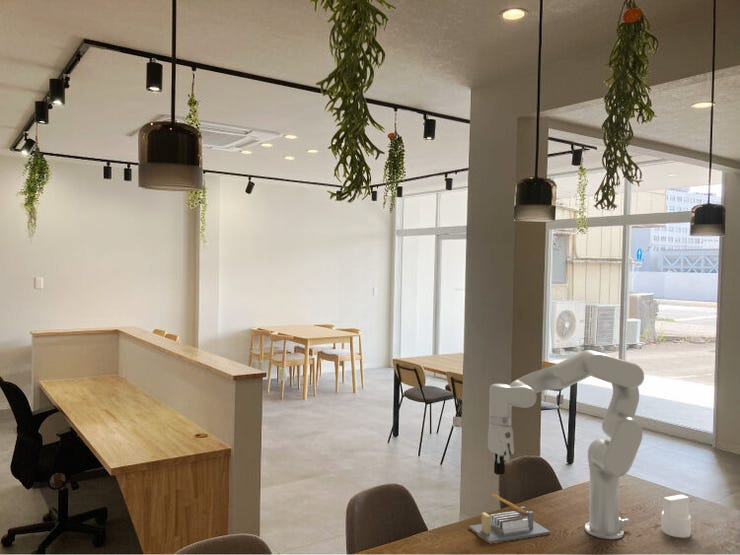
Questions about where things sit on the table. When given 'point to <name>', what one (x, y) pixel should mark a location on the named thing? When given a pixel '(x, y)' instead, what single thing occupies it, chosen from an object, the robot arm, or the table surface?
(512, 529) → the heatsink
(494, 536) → the cpu board
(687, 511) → the white tapered canister
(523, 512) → the strap
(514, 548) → the table surface
